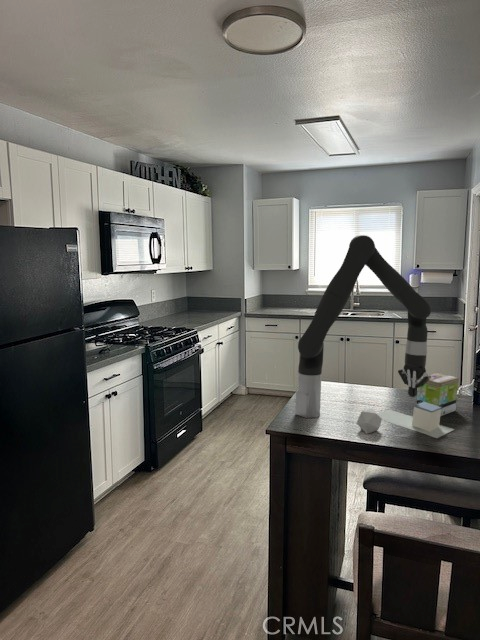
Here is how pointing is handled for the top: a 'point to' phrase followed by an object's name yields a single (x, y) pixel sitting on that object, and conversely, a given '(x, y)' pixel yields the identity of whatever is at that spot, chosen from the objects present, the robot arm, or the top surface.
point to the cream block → (426, 416)
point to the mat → (407, 423)
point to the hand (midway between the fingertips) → (412, 396)
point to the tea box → (439, 392)
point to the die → (369, 421)
